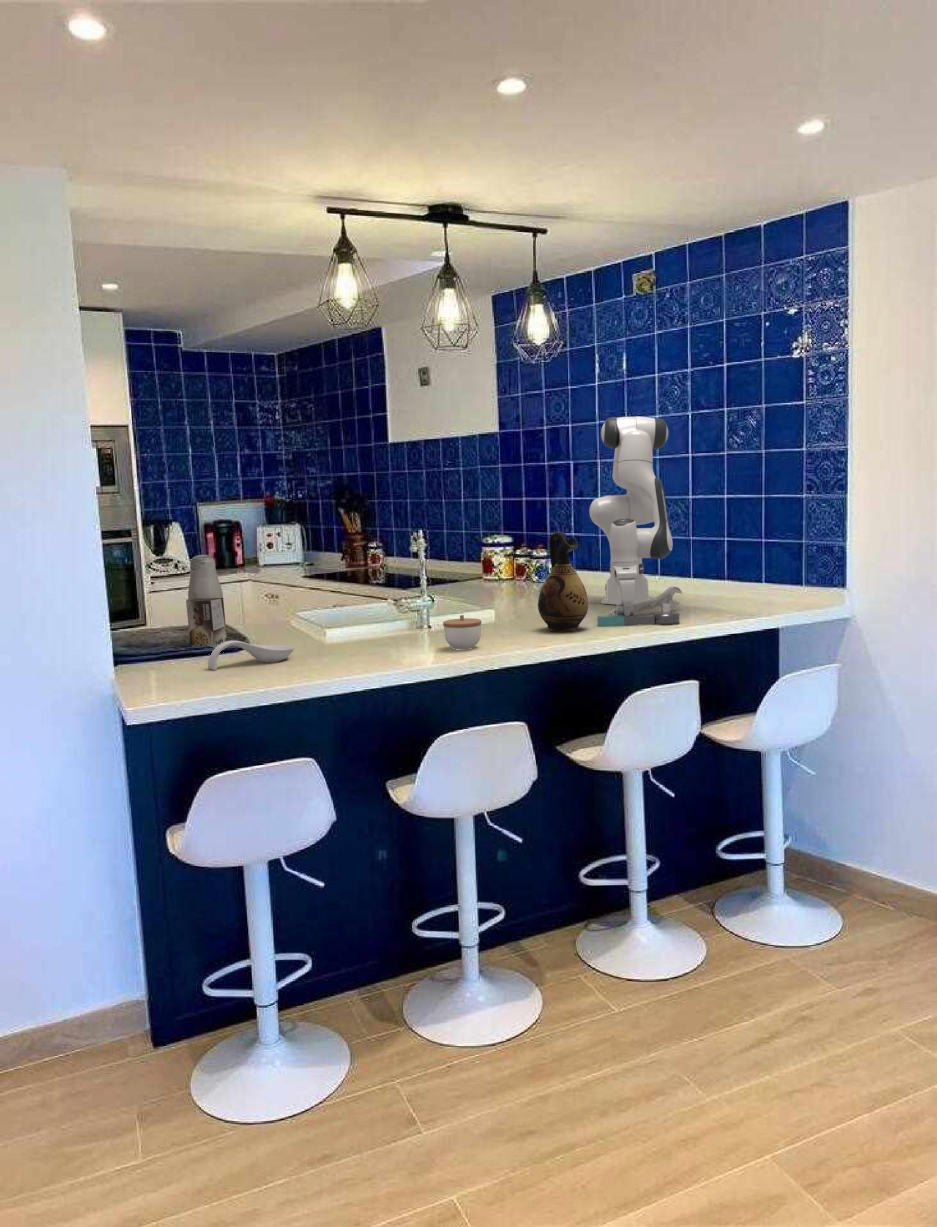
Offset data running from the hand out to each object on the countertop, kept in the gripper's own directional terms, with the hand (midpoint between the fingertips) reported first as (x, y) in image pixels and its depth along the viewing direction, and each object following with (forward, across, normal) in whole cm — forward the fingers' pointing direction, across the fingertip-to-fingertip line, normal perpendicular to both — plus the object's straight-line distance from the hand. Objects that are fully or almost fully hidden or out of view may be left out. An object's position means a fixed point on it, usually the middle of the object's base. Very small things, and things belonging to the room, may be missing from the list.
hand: (626, 613), depth 305 cm
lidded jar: (+3, +40, -48) cm, 63 cm away
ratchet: (+2, +8, +3) cm, 9 cm away
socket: (+2, 0, 0) cm, 2 cm away
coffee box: (+3, +34, -124) cm, 129 cm away
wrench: (+3, -13, +8) cm, 16 cm away
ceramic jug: (+3, +13, -20) cm, 24 cm away
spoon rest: (+3, +53, -105) cm, 118 cm away
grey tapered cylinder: (+2, +16, -131) cm, 132 cm away
